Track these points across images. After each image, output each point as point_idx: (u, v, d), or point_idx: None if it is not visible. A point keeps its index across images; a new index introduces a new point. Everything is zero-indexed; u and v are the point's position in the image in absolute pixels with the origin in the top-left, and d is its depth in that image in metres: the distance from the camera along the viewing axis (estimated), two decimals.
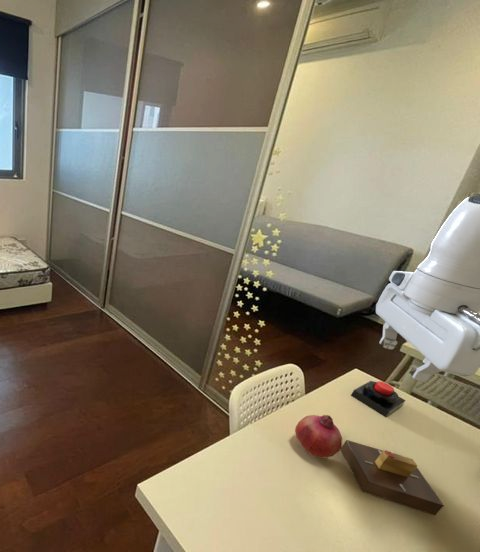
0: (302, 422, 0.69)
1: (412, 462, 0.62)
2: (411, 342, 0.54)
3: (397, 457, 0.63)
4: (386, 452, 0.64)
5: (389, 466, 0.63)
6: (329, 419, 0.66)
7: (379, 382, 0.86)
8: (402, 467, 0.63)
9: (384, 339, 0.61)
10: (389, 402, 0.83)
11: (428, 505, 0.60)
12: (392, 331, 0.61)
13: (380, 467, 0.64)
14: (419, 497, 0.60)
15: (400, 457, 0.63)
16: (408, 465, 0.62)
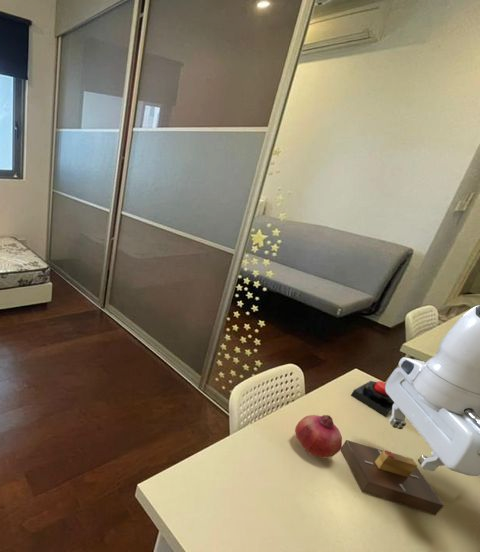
0: (302, 422, 0.69)
1: (412, 462, 0.62)
2: (420, 432, 0.58)
3: (397, 457, 0.63)
4: (386, 452, 0.64)
5: (389, 466, 0.63)
6: (329, 419, 0.66)
7: (379, 382, 0.86)
8: (402, 467, 0.63)
9: (393, 419, 0.65)
10: (389, 402, 0.83)
11: (428, 505, 0.60)
12: (401, 412, 0.65)
13: (380, 467, 0.64)
14: (419, 497, 0.60)
15: (400, 457, 0.63)
16: (408, 465, 0.62)
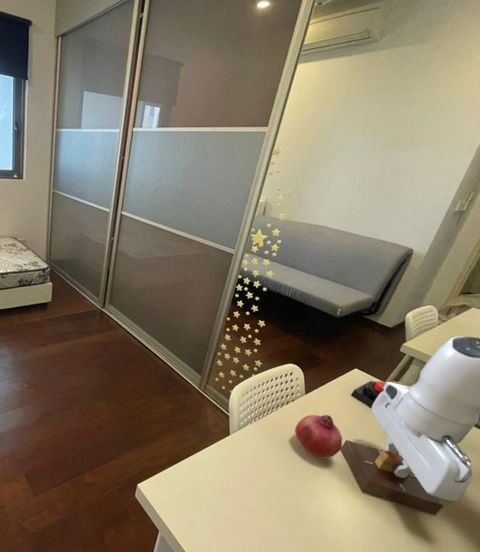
0: (302, 422, 0.69)
1: None
2: (402, 456, 0.60)
3: (397, 457, 0.63)
4: (386, 452, 0.64)
5: (389, 466, 0.63)
6: (329, 419, 0.66)
7: (379, 382, 0.86)
8: None
9: None
10: None
11: (428, 505, 0.60)
12: (395, 446, 0.65)
13: (380, 467, 0.64)
14: (419, 497, 0.60)
15: (400, 457, 0.63)
16: None
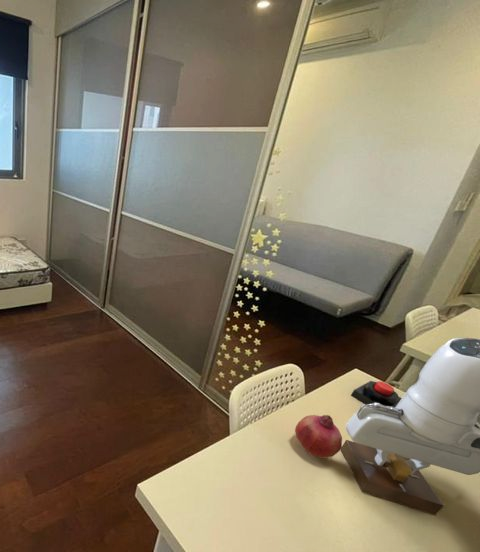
0: (302, 422, 0.69)
1: (404, 466, 0.61)
2: None
3: (397, 455, 0.63)
4: None
5: None
6: (329, 419, 0.66)
7: (379, 382, 0.86)
8: (393, 464, 0.63)
9: None
10: (389, 402, 0.83)
11: (428, 505, 0.60)
12: (418, 462, 0.62)
13: None
14: (419, 497, 0.60)
15: (402, 459, 0.63)
16: (397, 463, 0.62)
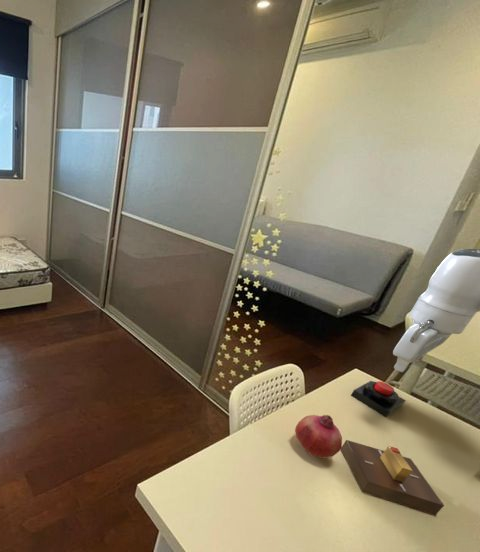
0: (302, 422, 0.69)
1: (404, 466, 0.61)
2: None
3: (397, 455, 0.63)
4: (395, 448, 0.65)
5: (386, 458, 0.65)
6: (329, 419, 0.66)
7: (379, 382, 0.86)
8: (393, 464, 0.63)
9: None
10: (389, 402, 0.83)
11: (428, 505, 0.60)
12: None
13: (381, 456, 0.67)
14: (419, 497, 0.60)
15: (402, 459, 0.63)
16: (397, 463, 0.62)
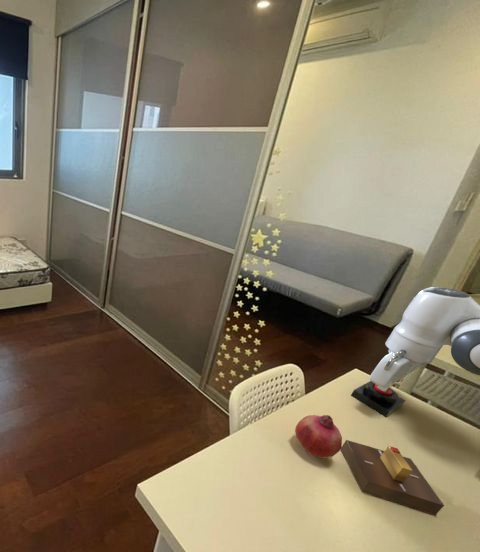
0: (302, 422, 0.69)
1: (404, 466, 0.61)
2: None
3: (397, 455, 0.63)
4: (395, 448, 0.65)
5: (386, 458, 0.65)
6: (329, 419, 0.66)
7: (377, 385, 0.87)
8: (393, 464, 0.63)
9: None
10: (389, 402, 0.83)
11: (428, 505, 0.60)
12: None
13: (381, 456, 0.67)
14: (419, 497, 0.60)
15: (402, 459, 0.63)
16: (397, 463, 0.62)
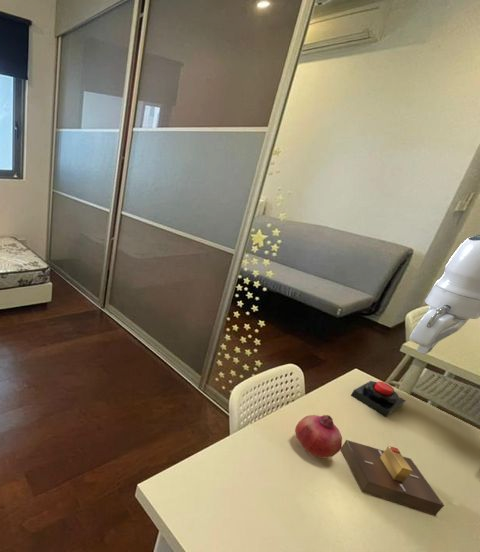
0: (302, 422, 0.69)
1: (404, 466, 0.61)
2: None
3: (397, 455, 0.63)
4: (395, 448, 0.65)
5: (386, 458, 0.65)
6: (329, 419, 0.66)
7: (379, 382, 0.86)
8: (393, 464, 0.63)
9: None
10: (389, 402, 0.83)
11: (428, 505, 0.60)
12: None
13: (381, 456, 0.67)
14: (419, 497, 0.60)
15: (402, 459, 0.63)
16: (397, 463, 0.62)
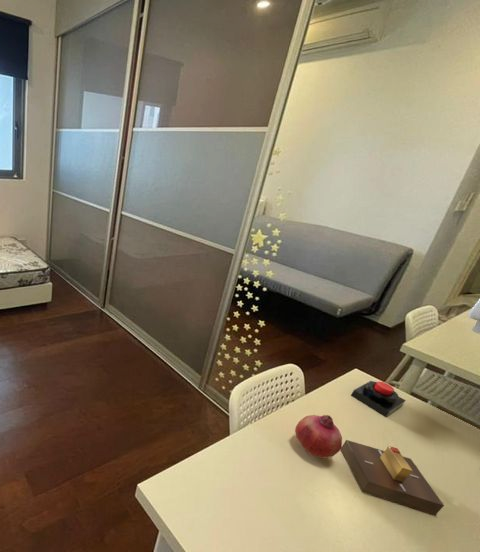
0: (302, 422, 0.69)
1: (404, 466, 0.61)
2: None
3: (397, 455, 0.63)
4: (395, 448, 0.65)
5: (386, 458, 0.65)
6: (329, 419, 0.66)
7: (379, 382, 0.86)
8: (393, 464, 0.63)
9: None
10: (389, 402, 0.83)
11: (428, 505, 0.60)
12: None
13: (381, 456, 0.67)
14: (419, 497, 0.60)
15: (402, 459, 0.63)
16: (397, 463, 0.62)
